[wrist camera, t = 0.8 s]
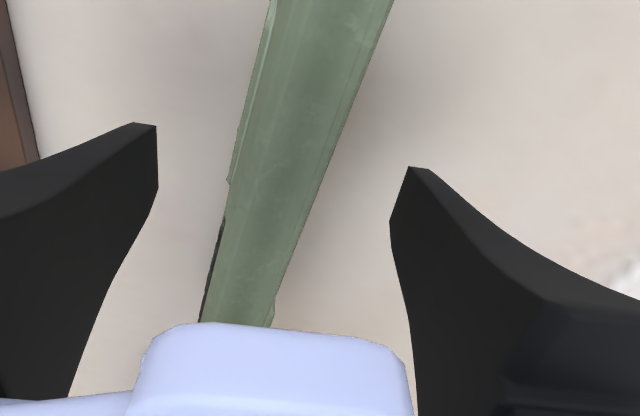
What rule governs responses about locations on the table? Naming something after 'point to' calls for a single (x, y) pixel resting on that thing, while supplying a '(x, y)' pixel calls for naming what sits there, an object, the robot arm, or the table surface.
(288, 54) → the handheld radio
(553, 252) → the table surface
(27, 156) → the walnut board
